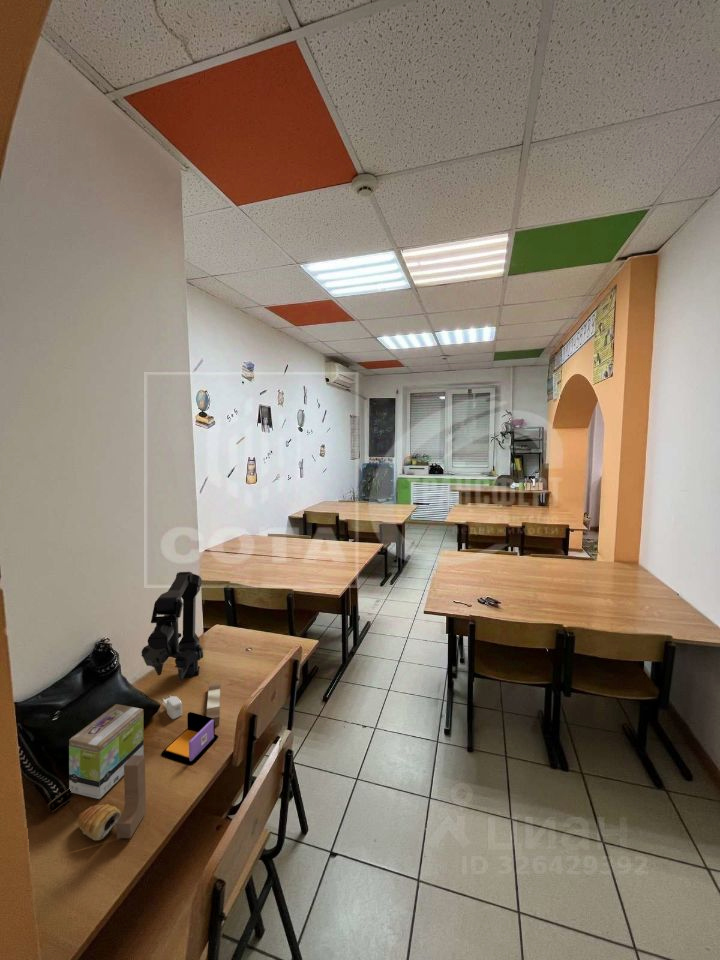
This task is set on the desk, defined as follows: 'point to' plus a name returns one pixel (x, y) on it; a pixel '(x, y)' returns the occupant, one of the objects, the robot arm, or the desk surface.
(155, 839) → the desk surface
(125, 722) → the tea box
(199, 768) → the desk surface
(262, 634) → the desk surface
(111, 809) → the pastry
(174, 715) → the power adapter
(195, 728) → the business card holder
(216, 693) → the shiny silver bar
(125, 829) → the wooden block
